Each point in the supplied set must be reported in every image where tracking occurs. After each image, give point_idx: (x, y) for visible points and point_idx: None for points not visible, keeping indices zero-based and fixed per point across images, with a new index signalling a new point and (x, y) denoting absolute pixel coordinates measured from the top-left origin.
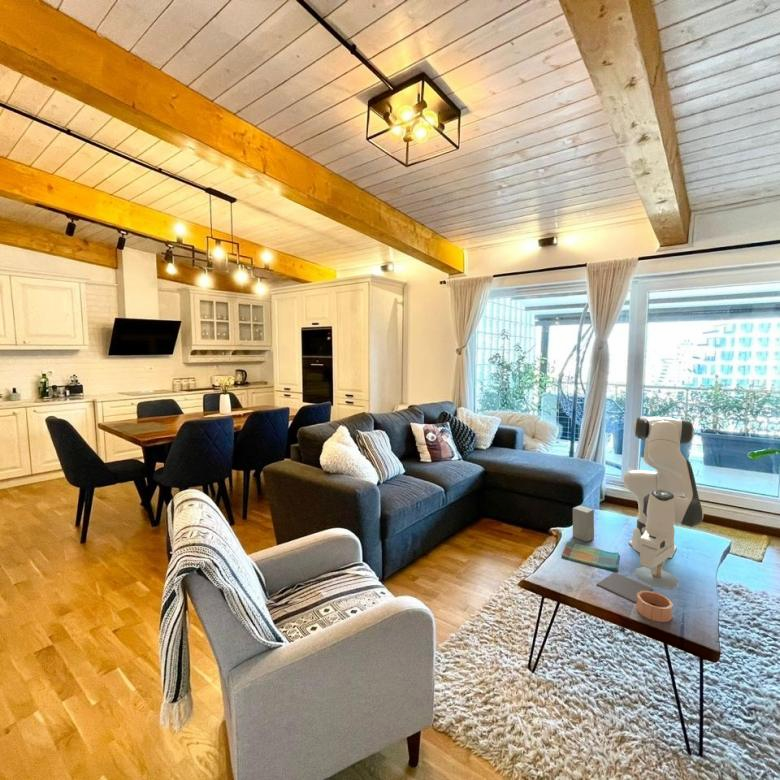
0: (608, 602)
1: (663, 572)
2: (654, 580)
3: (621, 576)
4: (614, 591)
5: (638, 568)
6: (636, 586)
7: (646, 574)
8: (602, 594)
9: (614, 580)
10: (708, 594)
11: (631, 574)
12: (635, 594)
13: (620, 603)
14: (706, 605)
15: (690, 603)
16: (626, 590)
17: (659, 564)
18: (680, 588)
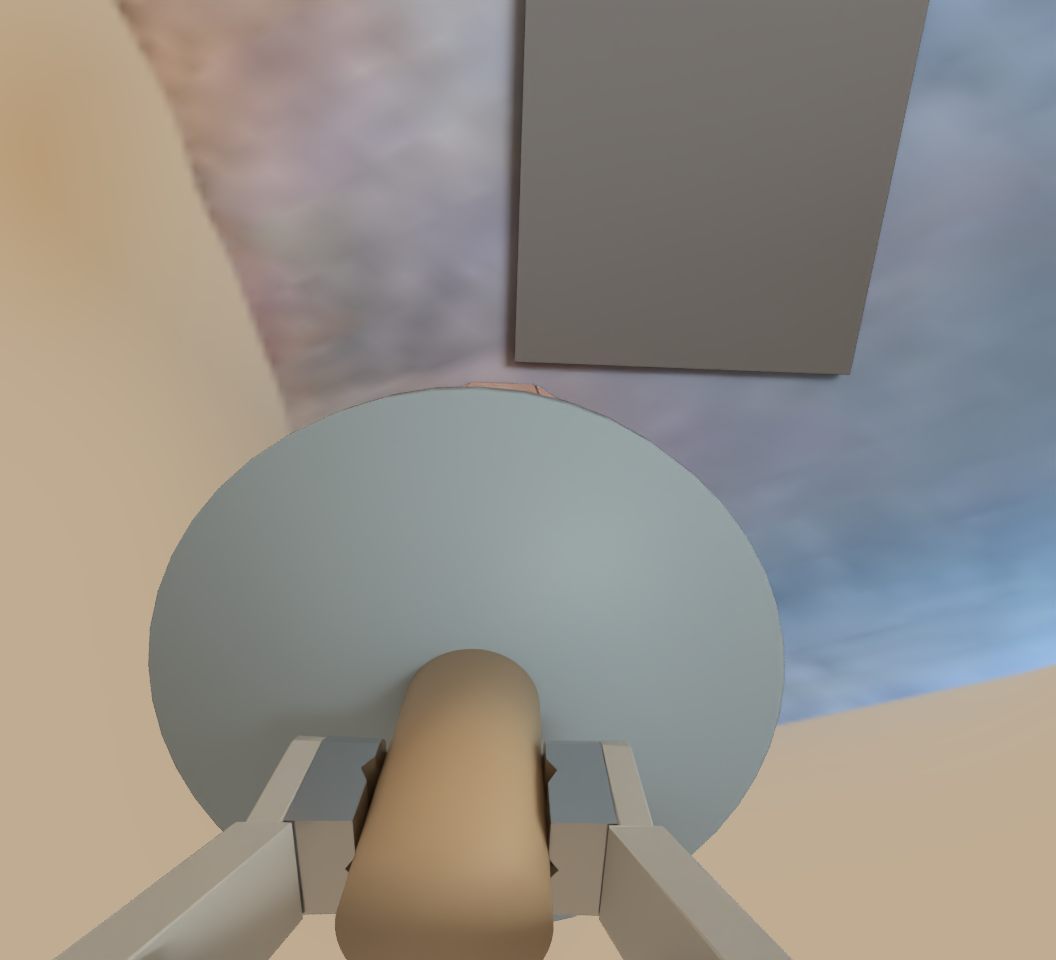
0: (324, 198)
1: (705, 729)
2: (290, 739)
3: (888, 62)
4: (525, 154)
5: (496, 405)
6: (782, 262)
7: (381, 592)
8: (403, 88)
9: (744, 47)
10: (1052, 652)
11: (1025, 116)
12: (630, 314)
13: (402, 279)
14: (877, 681)
15: (830, 615)
16: (637, 228)
17: (624, 895)
18: (1022, 508)
